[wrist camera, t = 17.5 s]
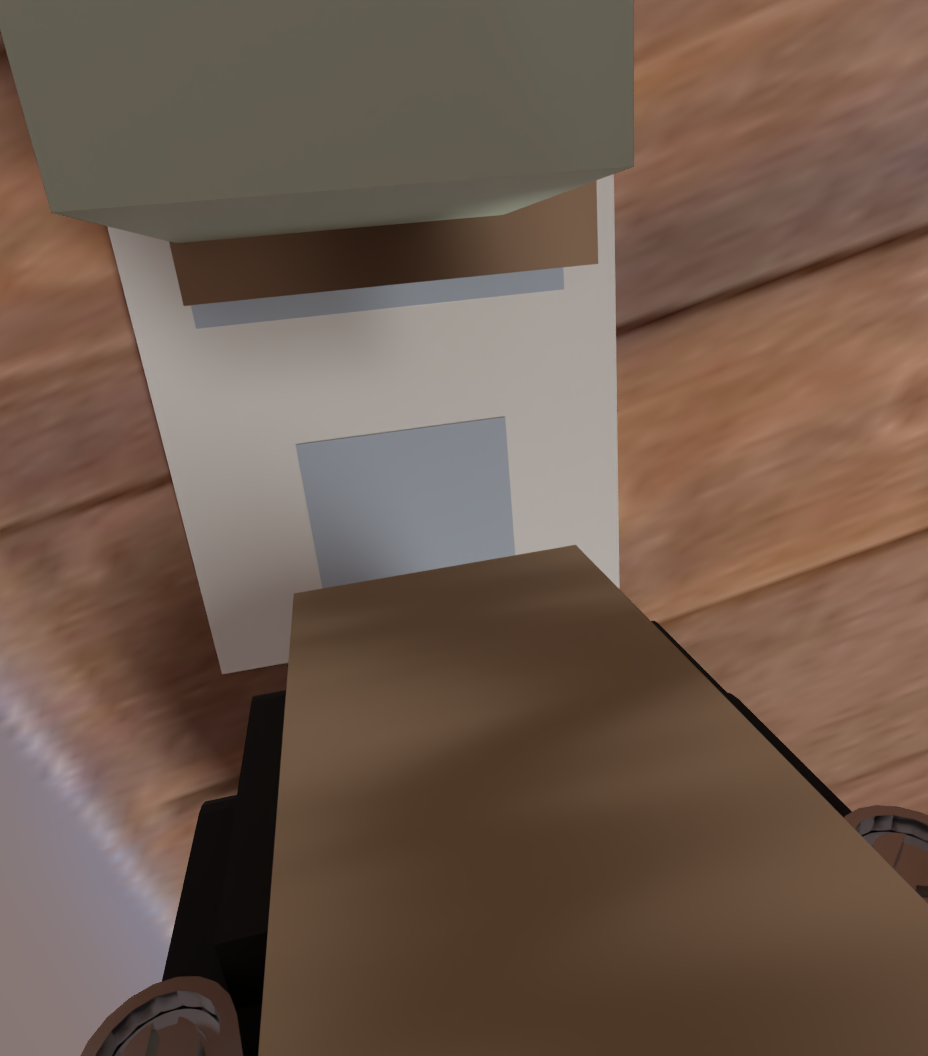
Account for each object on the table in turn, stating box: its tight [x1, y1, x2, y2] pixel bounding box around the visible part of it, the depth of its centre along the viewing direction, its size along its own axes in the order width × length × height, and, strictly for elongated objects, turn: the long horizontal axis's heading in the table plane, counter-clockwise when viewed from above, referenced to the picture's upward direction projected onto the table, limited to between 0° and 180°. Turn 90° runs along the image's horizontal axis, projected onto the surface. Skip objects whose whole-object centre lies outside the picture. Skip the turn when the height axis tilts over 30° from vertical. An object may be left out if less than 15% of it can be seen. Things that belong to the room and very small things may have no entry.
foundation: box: [169, 181, 598, 306], centre depth 14 cm, size 8×8×4 cm
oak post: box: [258, 545, 928, 1056], centre depth 8 cm, size 4×4×8 cm
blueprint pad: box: [107, 174, 619, 674], centre depth 17 cm, size 12×19×1 cm, turn 5°
